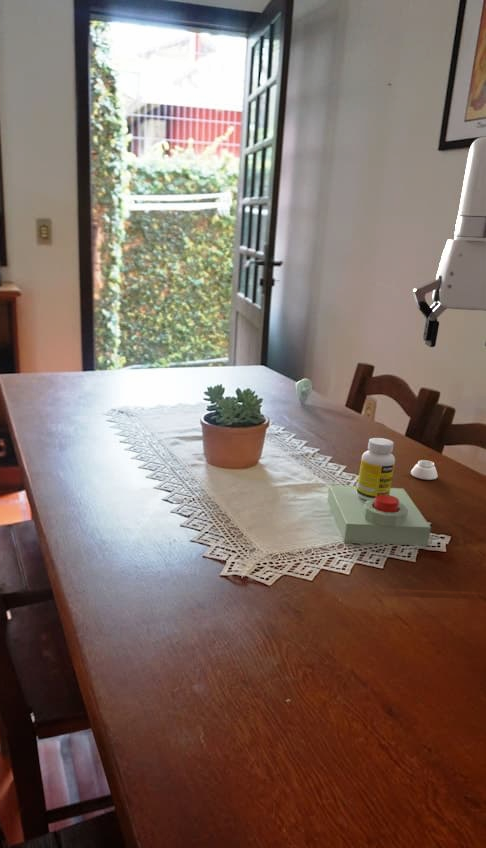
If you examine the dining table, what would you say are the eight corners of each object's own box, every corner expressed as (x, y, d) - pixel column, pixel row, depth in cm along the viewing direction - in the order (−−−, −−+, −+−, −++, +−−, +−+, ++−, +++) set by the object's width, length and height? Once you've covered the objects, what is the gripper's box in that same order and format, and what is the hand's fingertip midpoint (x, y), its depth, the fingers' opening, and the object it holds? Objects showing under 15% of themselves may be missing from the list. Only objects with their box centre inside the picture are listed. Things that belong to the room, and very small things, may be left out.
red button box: (400, 505, 121) (405, 478, 119) (428, 546, 106) (433, 517, 104) (327, 502, 120) (330, 475, 118) (344, 543, 105) (348, 513, 103)
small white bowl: (411, 479, 133) (438, 482, 132) (414, 465, 131) (441, 468, 131) (409, 471, 137) (435, 473, 136) (412, 457, 136) (438, 460, 135)
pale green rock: (290, 399, 186) (292, 375, 184) (304, 399, 187) (307, 375, 184) (301, 407, 179) (303, 382, 176) (315, 407, 180) (318, 382, 177)
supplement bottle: (378, 505, 112) (387, 448, 108) (350, 496, 115) (357, 440, 111) (394, 497, 115) (404, 441, 111) (366, 488, 119) (374, 434, 115)
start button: (394, 505, 108) (395, 494, 108) (400, 514, 105) (401, 503, 104) (371, 504, 108) (373, 494, 108) (376, 513, 105) (378, 503, 104)
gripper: (529, 232, 105) (505, 345, 111) (416, 227, 104) (399, 340, 111) (551, 234, 98) (524, 354, 104) (431, 228, 98) (412, 349, 104)
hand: (460, 347), depth 108 cm, fingers open, 9 cm apart
